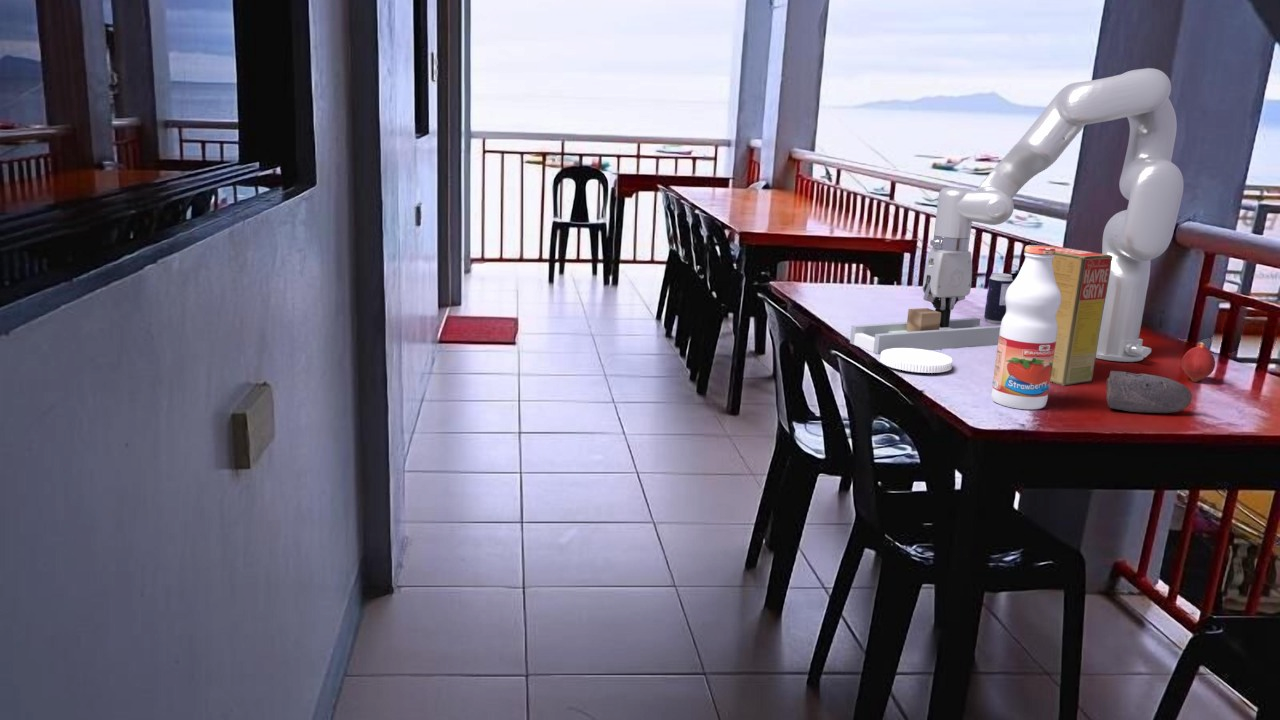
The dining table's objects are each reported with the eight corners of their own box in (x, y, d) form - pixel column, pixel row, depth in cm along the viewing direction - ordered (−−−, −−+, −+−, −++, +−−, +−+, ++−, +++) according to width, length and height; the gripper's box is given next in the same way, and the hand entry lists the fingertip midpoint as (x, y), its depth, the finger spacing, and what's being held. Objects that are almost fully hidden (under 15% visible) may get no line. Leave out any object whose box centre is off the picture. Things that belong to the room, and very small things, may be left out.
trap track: (1004, 344, 217) (1007, 326, 216) (877, 354, 203) (879, 335, 202) (973, 334, 226) (975, 317, 225) (849, 343, 212) (851, 325, 211)
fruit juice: (1026, 394, 177) (1048, 243, 170) (1057, 410, 168) (1082, 251, 161) (980, 395, 175) (1000, 242, 168) (1009, 411, 166) (1031, 250, 159)
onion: (1181, 375, 195) (1188, 337, 193) (1213, 381, 191) (1221, 342, 189) (1175, 381, 190) (1182, 342, 188) (1208, 387, 187) (1216, 347, 185)
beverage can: (1004, 320, 243) (1010, 273, 240) (1010, 324, 238) (1016, 277, 235) (981, 318, 244) (987, 272, 241) (986, 323, 238) (993, 275, 235)
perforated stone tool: (1182, 411, 171) (1190, 373, 169) (1195, 419, 166) (1202, 381, 164) (1094, 404, 173) (1100, 367, 171) (1103, 413, 168) (1110, 374, 166)
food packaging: (1094, 381, 188) (1115, 254, 182) (1063, 386, 184) (1083, 256, 177) (1037, 364, 199) (1055, 245, 193) (1006, 369, 195) (1023, 246, 188)
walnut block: (938, 334, 212) (941, 312, 211) (919, 335, 210) (922, 313, 209) (924, 329, 217) (927, 308, 215) (906, 330, 215) (908, 308, 214)
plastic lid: (959, 367, 196) (961, 355, 195) (939, 382, 185) (941, 369, 184) (892, 356, 203) (894, 344, 203) (869, 369, 192) (871, 357, 191)
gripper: (934, 247, 204) (925, 331, 209) (989, 246, 210) (979, 328, 214) (912, 242, 211) (903, 324, 215) (966, 241, 216) (956, 321, 221)
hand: (941, 326), depth 215 cm, fingers closed
